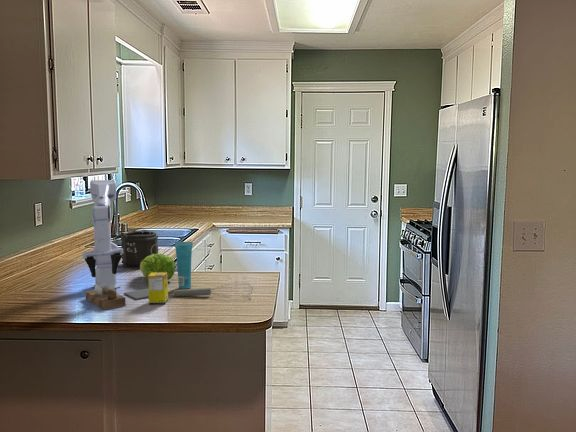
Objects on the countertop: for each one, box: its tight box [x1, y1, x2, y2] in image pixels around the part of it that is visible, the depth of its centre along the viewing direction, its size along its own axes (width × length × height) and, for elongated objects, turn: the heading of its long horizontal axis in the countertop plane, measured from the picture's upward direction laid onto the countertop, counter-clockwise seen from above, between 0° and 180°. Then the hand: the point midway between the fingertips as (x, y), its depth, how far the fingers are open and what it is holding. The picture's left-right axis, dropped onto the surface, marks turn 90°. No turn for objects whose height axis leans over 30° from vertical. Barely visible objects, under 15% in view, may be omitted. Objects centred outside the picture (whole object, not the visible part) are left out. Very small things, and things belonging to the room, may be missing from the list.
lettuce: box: [139, 253, 176, 281], centre depth 228 cm, size 13×22×14 cm
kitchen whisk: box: [168, 281, 254, 299], centre depth 201 cm, size 6×33×6 cm, turn 88°
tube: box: [174, 240, 194, 290], centre depth 213 cm, size 7×5×19 cm, turn 89°
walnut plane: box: [84, 288, 127, 311], centre depth 193 cm, size 18×8×6 cm, turn 40°
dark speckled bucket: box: [120, 230, 159, 269], centre depth 259 cm, size 18×18×16 cm
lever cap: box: [94, 282, 115, 297], centre depth 193 cm, size 7×4×4 cm, turn 40°
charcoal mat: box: [123, 288, 149, 301], centre depth 203 cm, size 11×10×1 cm
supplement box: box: [147, 272, 169, 306], centre depth 192 cm, size 6×6×11 cm
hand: (104, 275), depth 192 cm, fingers open, 7 cm apart
